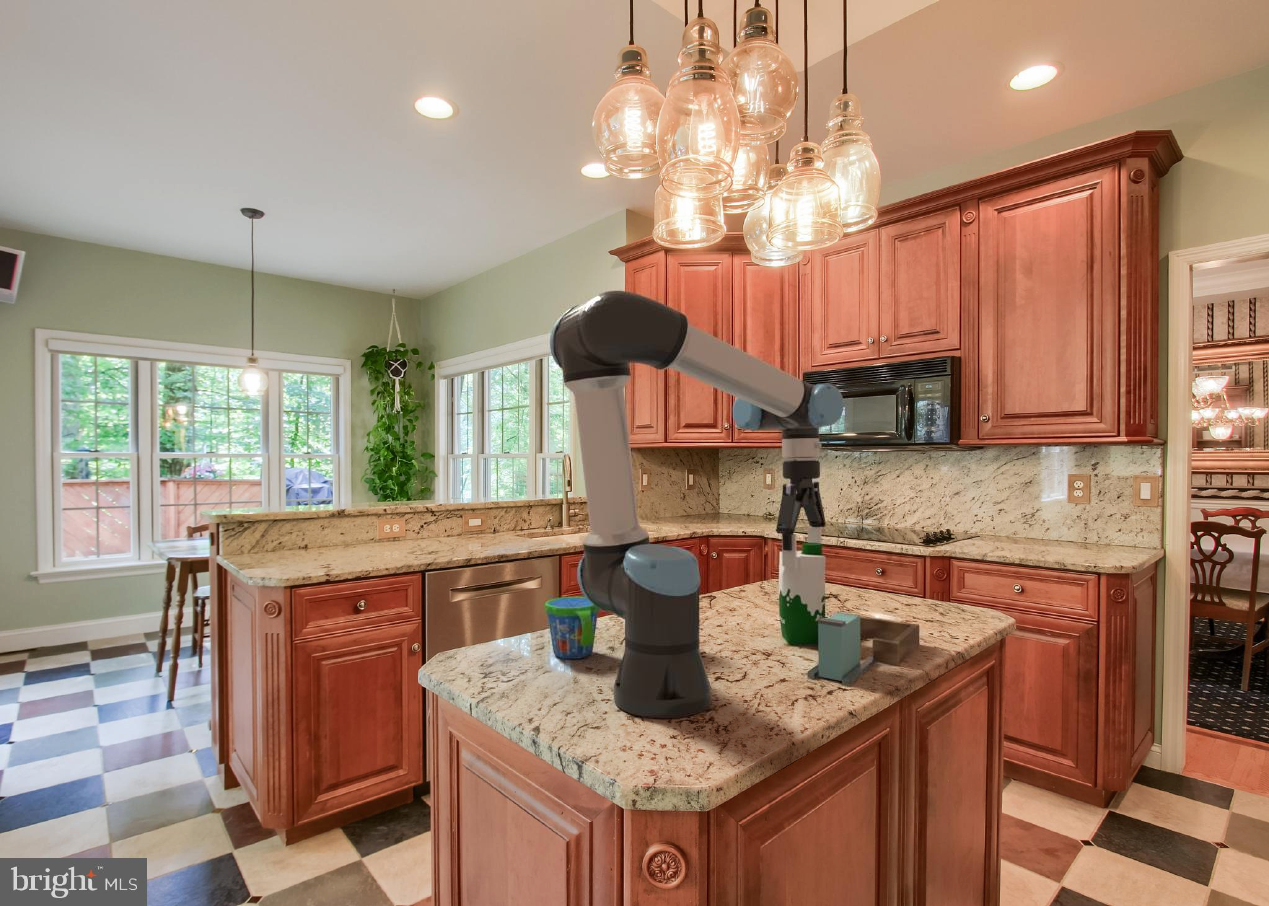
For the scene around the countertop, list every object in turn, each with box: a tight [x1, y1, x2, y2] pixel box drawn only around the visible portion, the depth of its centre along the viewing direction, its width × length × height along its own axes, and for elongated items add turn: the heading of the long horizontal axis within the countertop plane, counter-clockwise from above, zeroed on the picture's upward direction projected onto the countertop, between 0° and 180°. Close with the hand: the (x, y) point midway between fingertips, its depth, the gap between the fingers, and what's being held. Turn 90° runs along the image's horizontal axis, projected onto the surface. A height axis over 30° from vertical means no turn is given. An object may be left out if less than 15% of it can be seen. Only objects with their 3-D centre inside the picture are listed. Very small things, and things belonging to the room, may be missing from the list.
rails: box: [806, 655, 877, 687], centre depth 112 cm, size 7×15×1 cm, turn 143°
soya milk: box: [778, 542, 827, 646], centre depth 131 cm, size 9×9×20 cm
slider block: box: [817, 611, 862, 682], centre depth 111 cm, size 4×10×10 cm, turn 143°
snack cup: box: [544, 596, 600, 660], centre depth 122 cm, size 16×10×10 cm
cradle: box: [860, 615, 920, 666], centre depth 126 cm, size 14×16×4 cm
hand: (802, 562), depth 131 cm, fingers open, 13 cm apart
